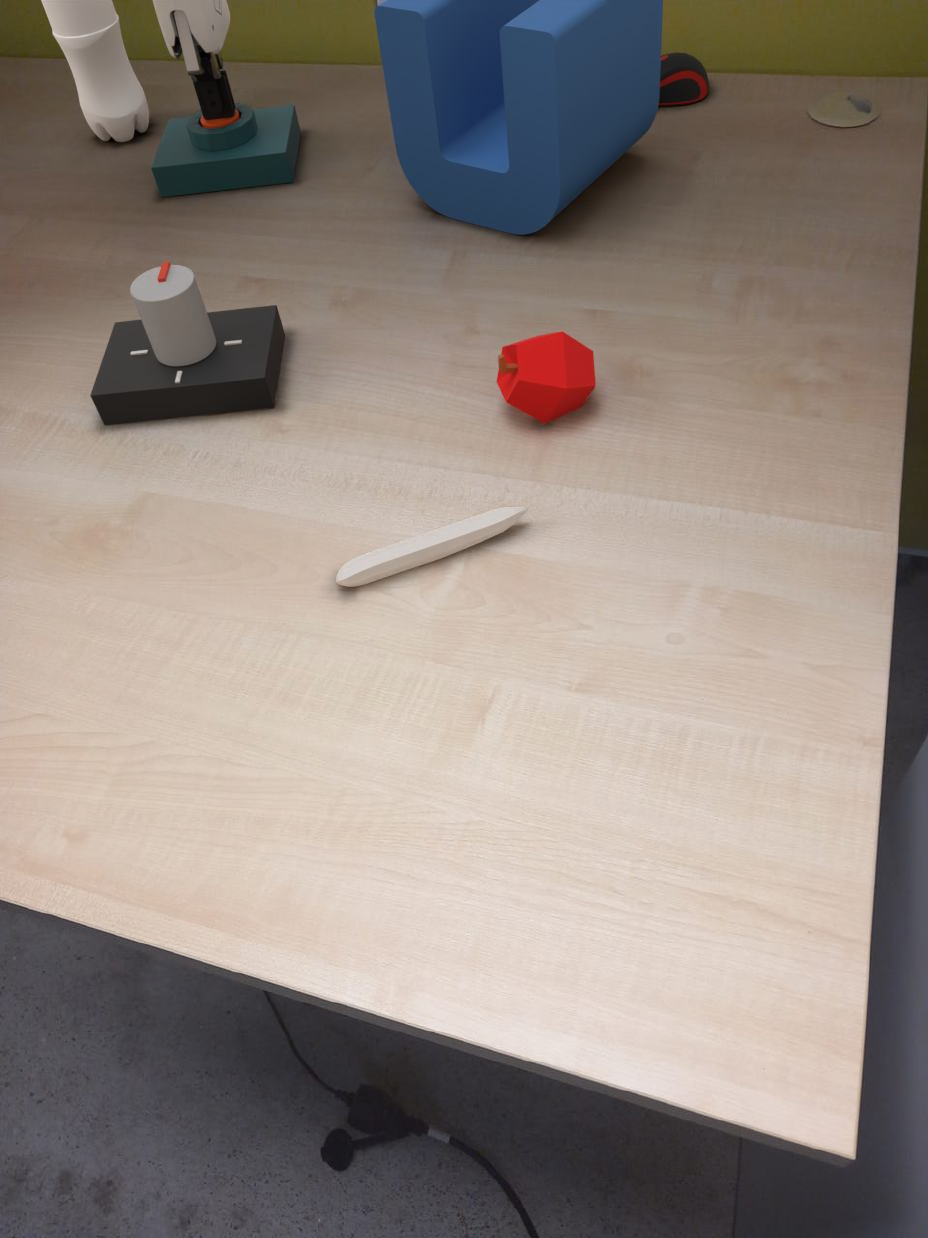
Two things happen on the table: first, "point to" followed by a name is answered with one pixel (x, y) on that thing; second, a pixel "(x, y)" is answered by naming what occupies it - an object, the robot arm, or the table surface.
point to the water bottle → (99, 66)
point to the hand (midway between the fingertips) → (220, 114)
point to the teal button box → (228, 152)
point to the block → (516, 99)
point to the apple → (546, 375)
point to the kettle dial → (173, 314)
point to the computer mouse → (682, 80)
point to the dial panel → (192, 371)
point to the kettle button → (219, 121)
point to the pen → (427, 546)
